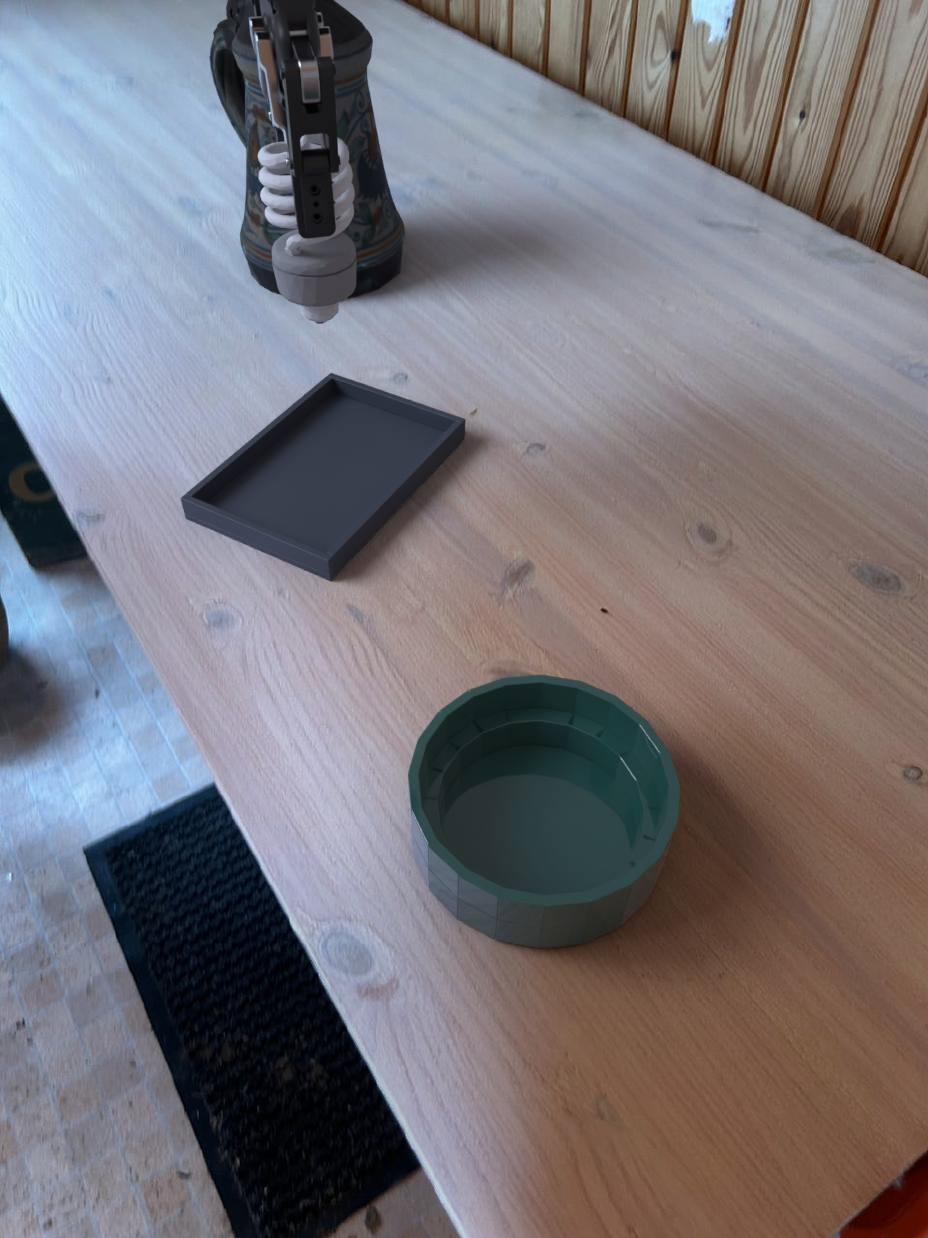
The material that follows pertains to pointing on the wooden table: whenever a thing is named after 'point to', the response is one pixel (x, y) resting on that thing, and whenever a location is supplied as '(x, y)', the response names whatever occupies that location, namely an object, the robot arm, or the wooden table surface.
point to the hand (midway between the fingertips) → (308, 210)
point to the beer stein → (248, 113)
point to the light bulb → (316, 264)
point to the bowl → (541, 809)
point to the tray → (325, 474)
